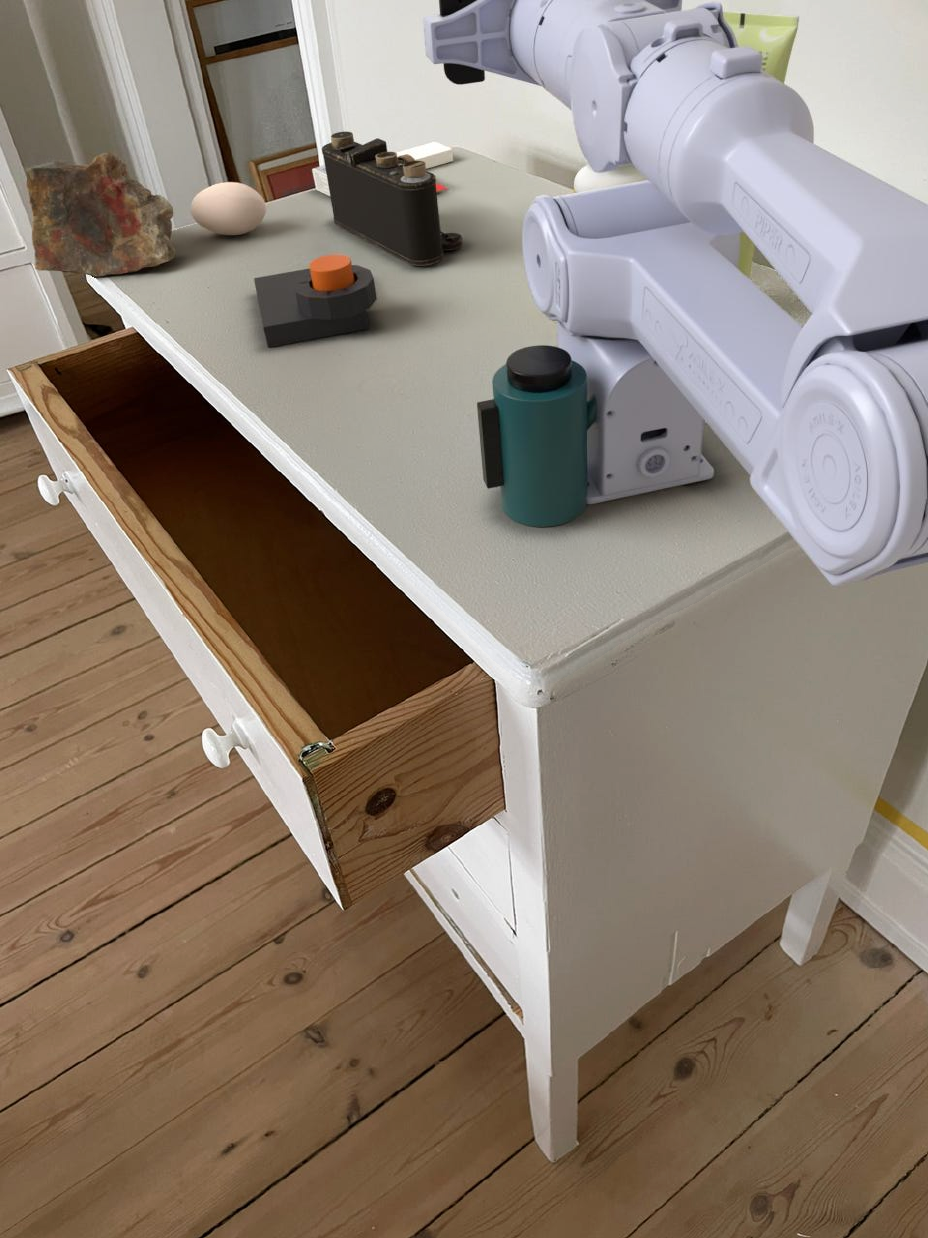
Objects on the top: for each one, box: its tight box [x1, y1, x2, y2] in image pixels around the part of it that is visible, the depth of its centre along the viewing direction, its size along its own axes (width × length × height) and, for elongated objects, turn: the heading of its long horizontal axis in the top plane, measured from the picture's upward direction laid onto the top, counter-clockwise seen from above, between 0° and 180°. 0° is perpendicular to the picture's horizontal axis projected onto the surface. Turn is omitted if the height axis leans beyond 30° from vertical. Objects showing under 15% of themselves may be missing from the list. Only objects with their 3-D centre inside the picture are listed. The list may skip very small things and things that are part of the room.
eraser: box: [396, 141, 454, 170], centre depth 105 cm, size 1×5×4 cm
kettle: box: [476, 344, 597, 528], centre depth 54 cm, size 5×8×9 cm, turn 103°
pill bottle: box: [573, 156, 648, 193], centre depth 74 cm, size 6×6×11 cm
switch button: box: [308, 254, 354, 291], centre depth 74 cm, size 3×3×2 cm
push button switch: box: [253, 264, 378, 348], centre depth 78 cm, size 11×9×4 cm
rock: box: [26, 151, 176, 277], centre depth 89 cm, size 12×12×10 cm
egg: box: [190, 181, 267, 236], centre depth 93 cm, size 5×5×7 cm
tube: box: [687, 7, 800, 280], centre depth 66 cm, size 6×5×20 cm
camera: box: [321, 131, 464, 267], centre depth 87 cm, size 16×7×8 cm, turn 34°
